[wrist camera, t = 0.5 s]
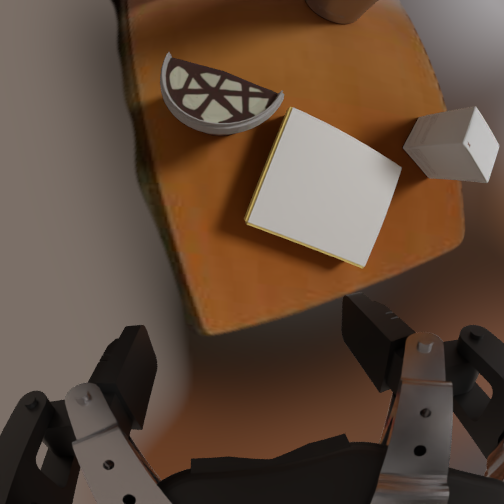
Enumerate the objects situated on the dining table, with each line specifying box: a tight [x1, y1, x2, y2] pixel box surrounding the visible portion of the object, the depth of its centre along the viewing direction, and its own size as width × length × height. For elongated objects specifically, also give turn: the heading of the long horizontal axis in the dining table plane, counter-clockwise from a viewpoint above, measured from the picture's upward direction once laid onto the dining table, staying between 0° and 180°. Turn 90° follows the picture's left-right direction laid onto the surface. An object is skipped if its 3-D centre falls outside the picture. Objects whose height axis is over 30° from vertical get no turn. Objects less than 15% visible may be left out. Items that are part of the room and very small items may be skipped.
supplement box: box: [403, 106, 499, 183], centre depth 28 cm, size 7×7×13 cm
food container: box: [160, 52, 284, 136], centre depth 25 cm, size 12×6×10 cm, turn 68°
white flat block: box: [244, 107, 402, 268], centre depth 32 cm, size 14×16×4 cm
